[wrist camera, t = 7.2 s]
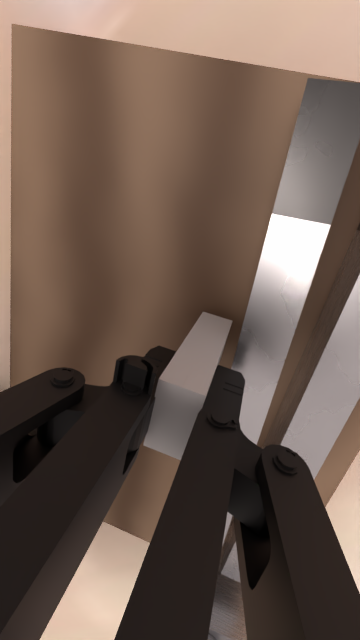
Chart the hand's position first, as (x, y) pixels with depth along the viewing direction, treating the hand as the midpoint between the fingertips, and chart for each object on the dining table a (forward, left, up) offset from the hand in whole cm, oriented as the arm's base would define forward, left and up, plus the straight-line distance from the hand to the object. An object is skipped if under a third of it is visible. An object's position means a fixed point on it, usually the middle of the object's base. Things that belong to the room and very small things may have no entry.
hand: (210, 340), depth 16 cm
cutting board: (-2, -3, -3) cm, 5 cm away
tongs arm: (+2, -2, -1) cm, 3 cm away
